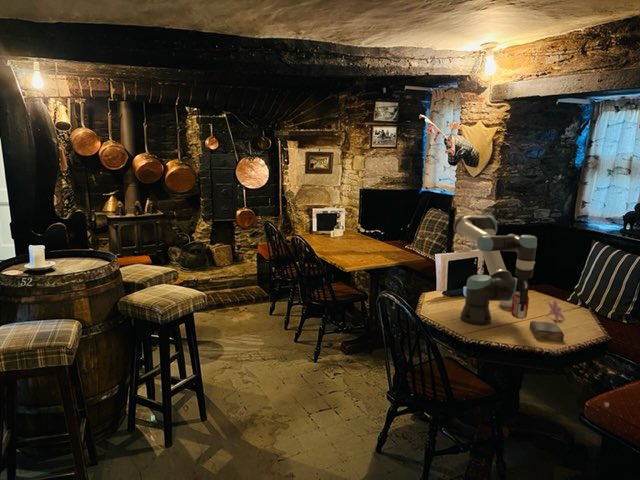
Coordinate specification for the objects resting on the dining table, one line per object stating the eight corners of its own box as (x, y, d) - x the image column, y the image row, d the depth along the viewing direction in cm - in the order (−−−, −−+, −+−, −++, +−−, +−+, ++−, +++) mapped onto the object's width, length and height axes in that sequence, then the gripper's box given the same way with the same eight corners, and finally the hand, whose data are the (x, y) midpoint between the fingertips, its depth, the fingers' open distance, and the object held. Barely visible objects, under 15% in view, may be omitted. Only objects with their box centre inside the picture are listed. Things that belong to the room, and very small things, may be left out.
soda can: (528, 320, 206) (531, 296, 203) (512, 319, 207) (515, 295, 205) (524, 314, 213) (527, 291, 210) (509, 313, 214) (512, 290, 211)
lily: (543, 324, 225) (556, 311, 220) (533, 308, 235) (545, 295, 230) (562, 329, 228) (574, 317, 223) (551, 313, 238) (563, 301, 233)
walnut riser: (535, 338, 205) (536, 329, 204) (529, 328, 216) (530, 320, 216) (563, 341, 202) (564, 332, 201) (555, 331, 214) (556, 322, 213)
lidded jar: (499, 301, 255) (501, 285, 253) (519, 305, 249) (521, 289, 247) (494, 306, 247) (496, 290, 245) (514, 310, 241) (516, 294, 239)
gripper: (538, 274, 194) (532, 322, 199) (528, 263, 213) (522, 307, 218) (520, 273, 196) (514, 321, 201) (512, 262, 215) (507, 305, 220)
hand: (519, 313), depth 210 cm, fingers closed on soda can, 7 cm apart
